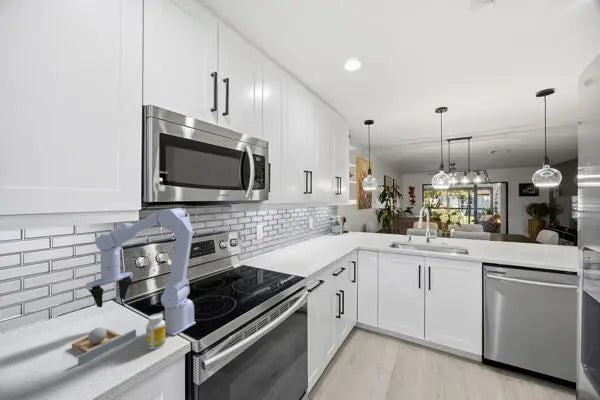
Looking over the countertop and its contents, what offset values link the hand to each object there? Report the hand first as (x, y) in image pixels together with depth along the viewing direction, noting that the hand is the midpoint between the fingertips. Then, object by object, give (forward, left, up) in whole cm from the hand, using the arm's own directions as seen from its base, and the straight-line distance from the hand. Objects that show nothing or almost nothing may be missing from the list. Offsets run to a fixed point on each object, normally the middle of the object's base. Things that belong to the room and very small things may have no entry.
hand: (111, 302), depth 93 cm
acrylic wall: (+8, +14, -9) cm, 19 cm away
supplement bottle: (0, +25, -10) cm, 27 cm away
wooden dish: (+8, +7, -9) cm, 14 cm away
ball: (+8, +7, -9) cm, 14 cm away
